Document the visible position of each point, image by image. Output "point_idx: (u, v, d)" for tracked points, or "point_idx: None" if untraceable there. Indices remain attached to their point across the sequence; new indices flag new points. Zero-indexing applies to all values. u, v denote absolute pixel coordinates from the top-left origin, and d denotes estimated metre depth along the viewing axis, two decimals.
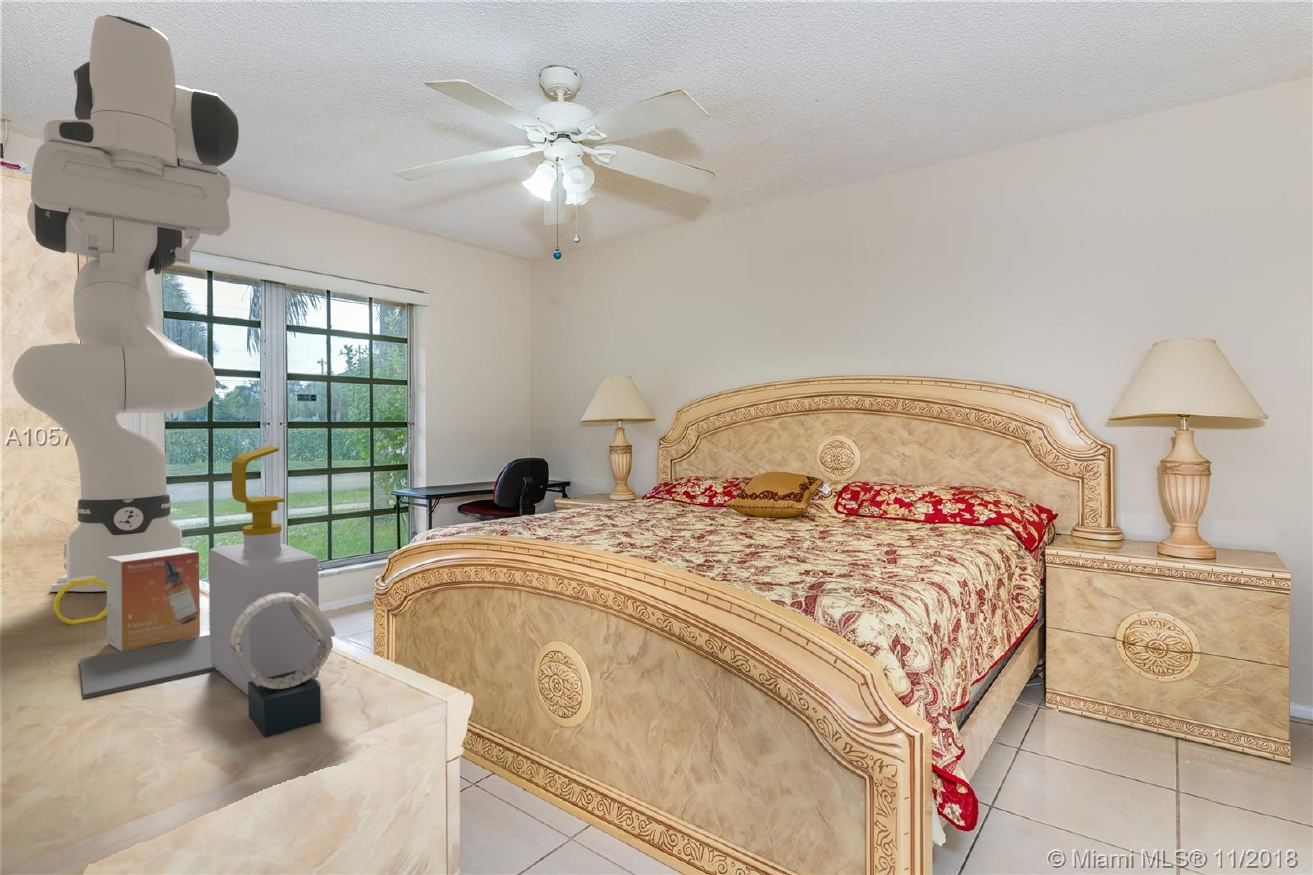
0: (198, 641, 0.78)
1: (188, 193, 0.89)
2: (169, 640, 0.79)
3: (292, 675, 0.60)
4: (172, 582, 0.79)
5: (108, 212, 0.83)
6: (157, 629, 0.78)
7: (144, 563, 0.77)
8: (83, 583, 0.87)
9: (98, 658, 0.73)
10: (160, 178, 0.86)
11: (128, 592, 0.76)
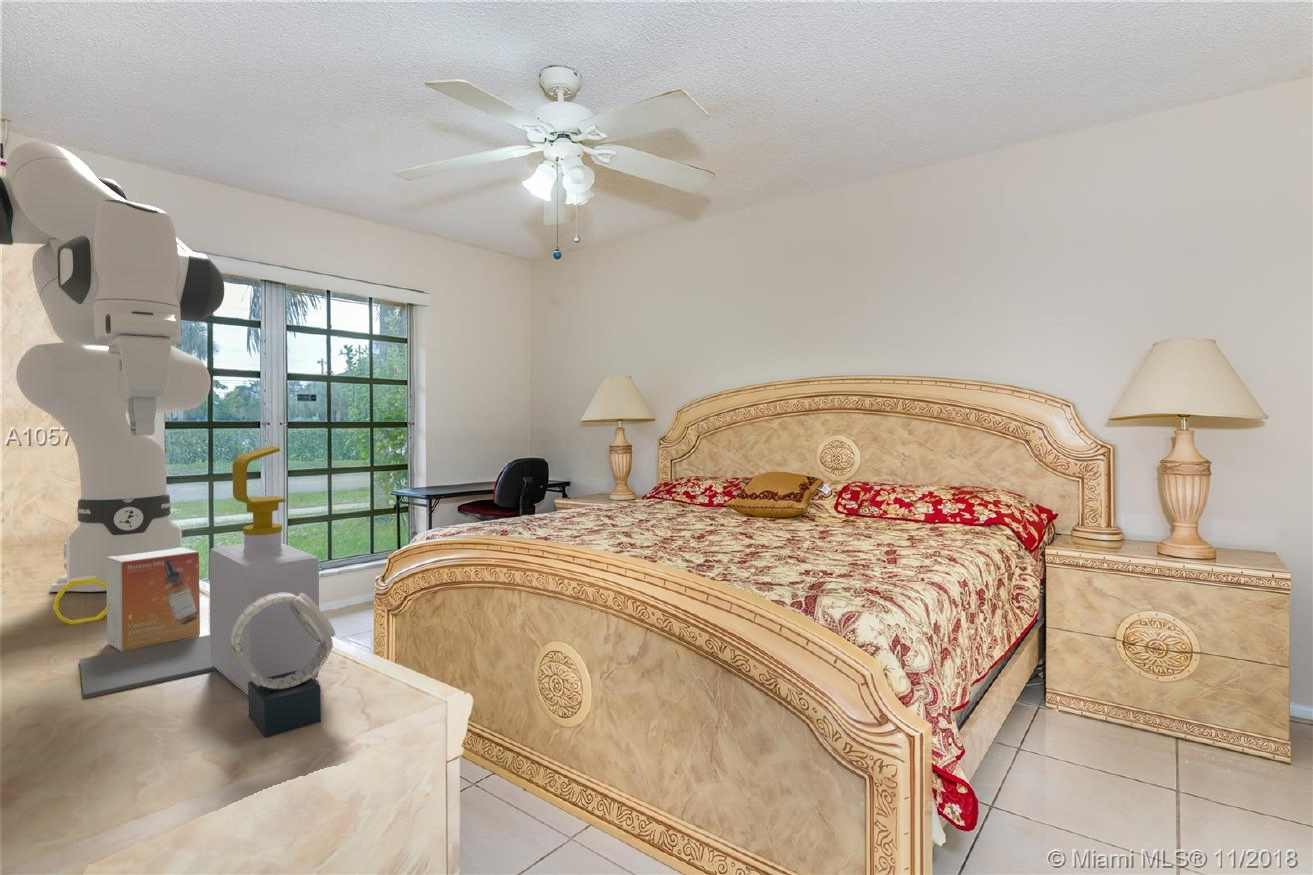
0: (198, 641, 0.78)
1: None
2: (169, 640, 0.79)
3: (292, 675, 0.60)
4: (172, 582, 0.79)
5: None
6: (157, 629, 0.78)
7: (143, 563, 0.77)
8: (83, 583, 0.87)
9: (98, 658, 0.73)
10: None
11: (128, 592, 0.76)
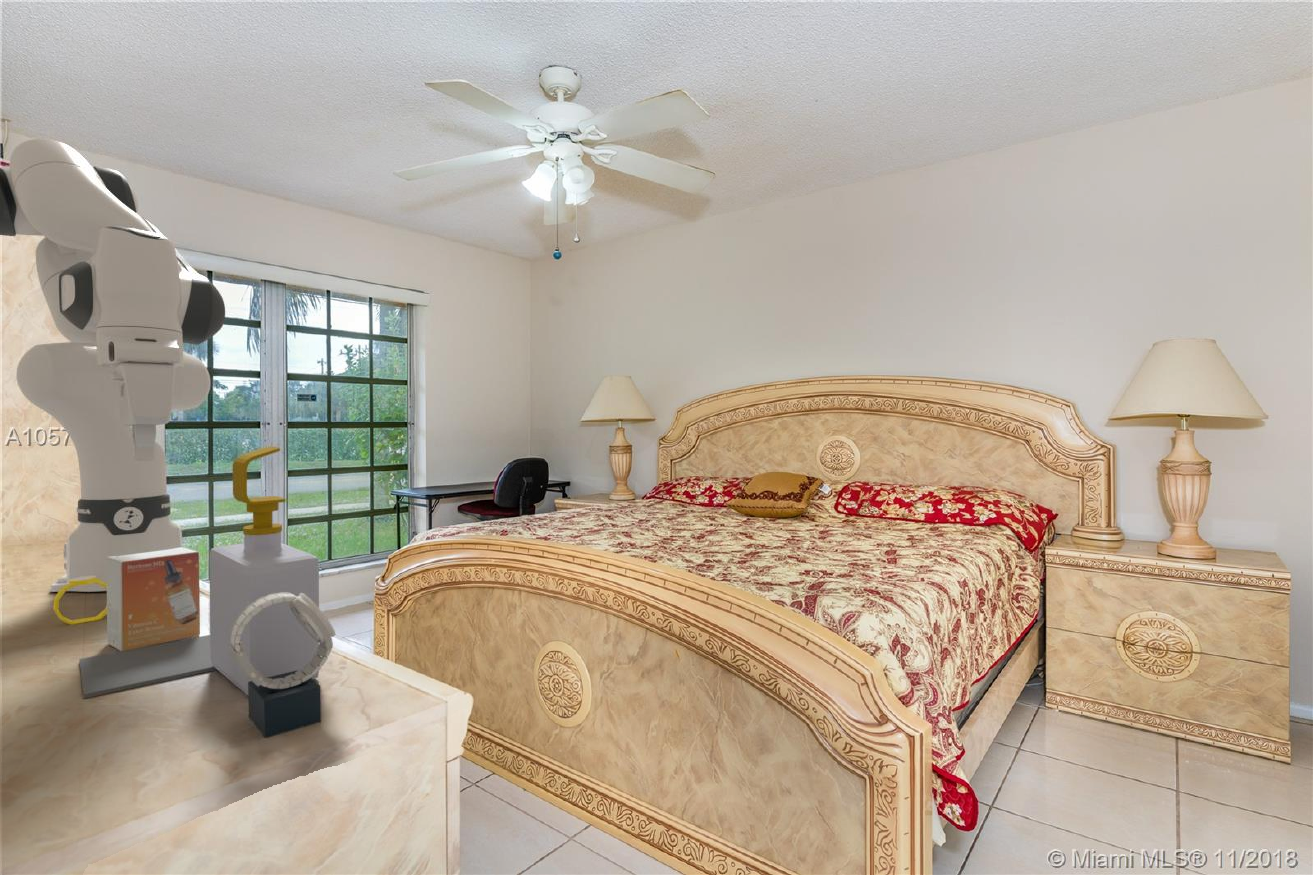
0: (198, 641, 0.78)
1: None
2: (169, 640, 0.79)
3: (292, 675, 0.60)
4: (172, 582, 0.79)
5: None
6: (157, 629, 0.78)
7: (143, 563, 0.77)
8: (83, 583, 0.87)
9: (98, 658, 0.73)
10: None
11: (128, 592, 0.76)
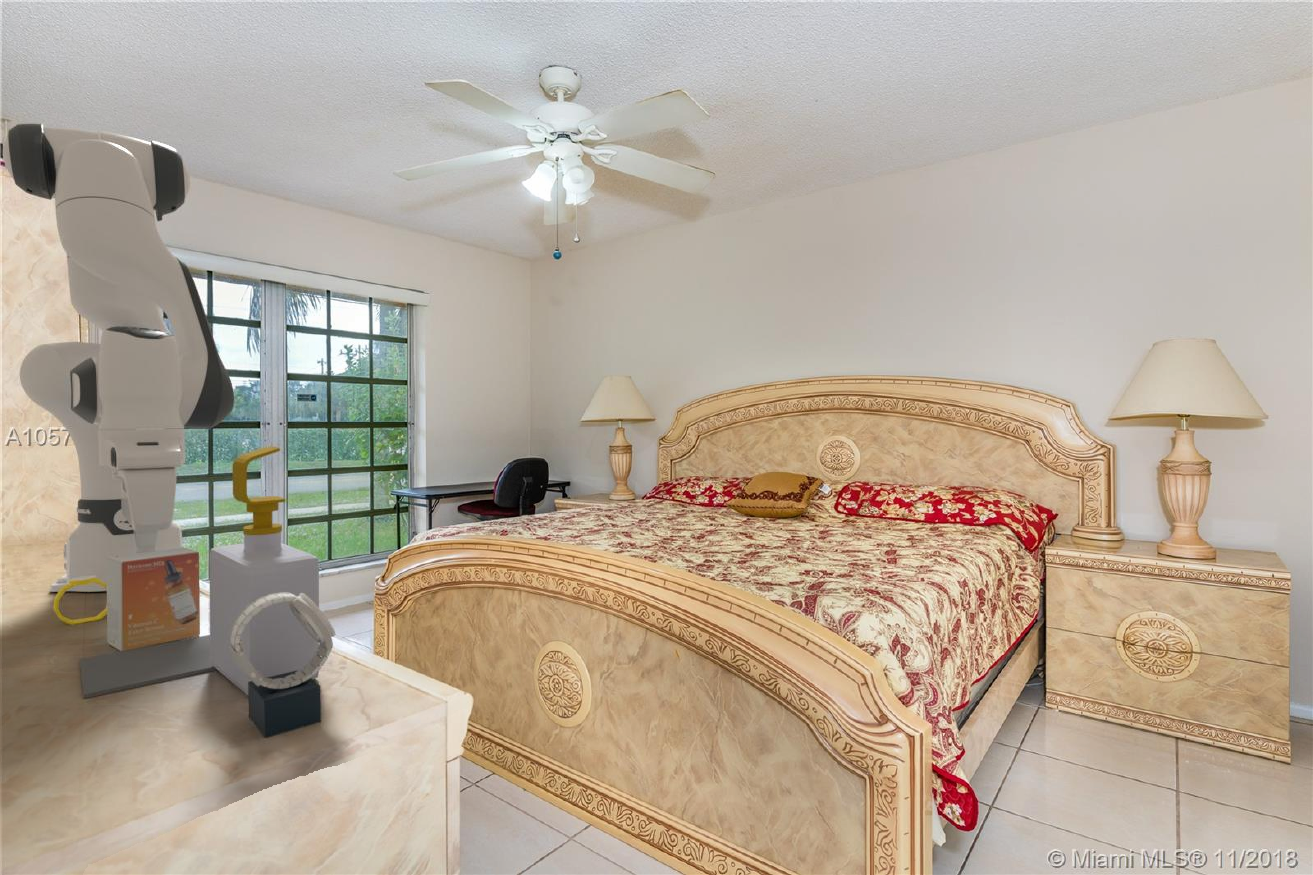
0: (198, 641, 0.78)
1: None
2: (169, 640, 0.79)
3: (292, 675, 0.60)
4: (172, 582, 0.79)
5: None
6: (157, 629, 0.78)
7: (144, 563, 0.77)
8: (83, 583, 0.87)
9: (98, 658, 0.73)
10: None
11: (128, 592, 0.76)
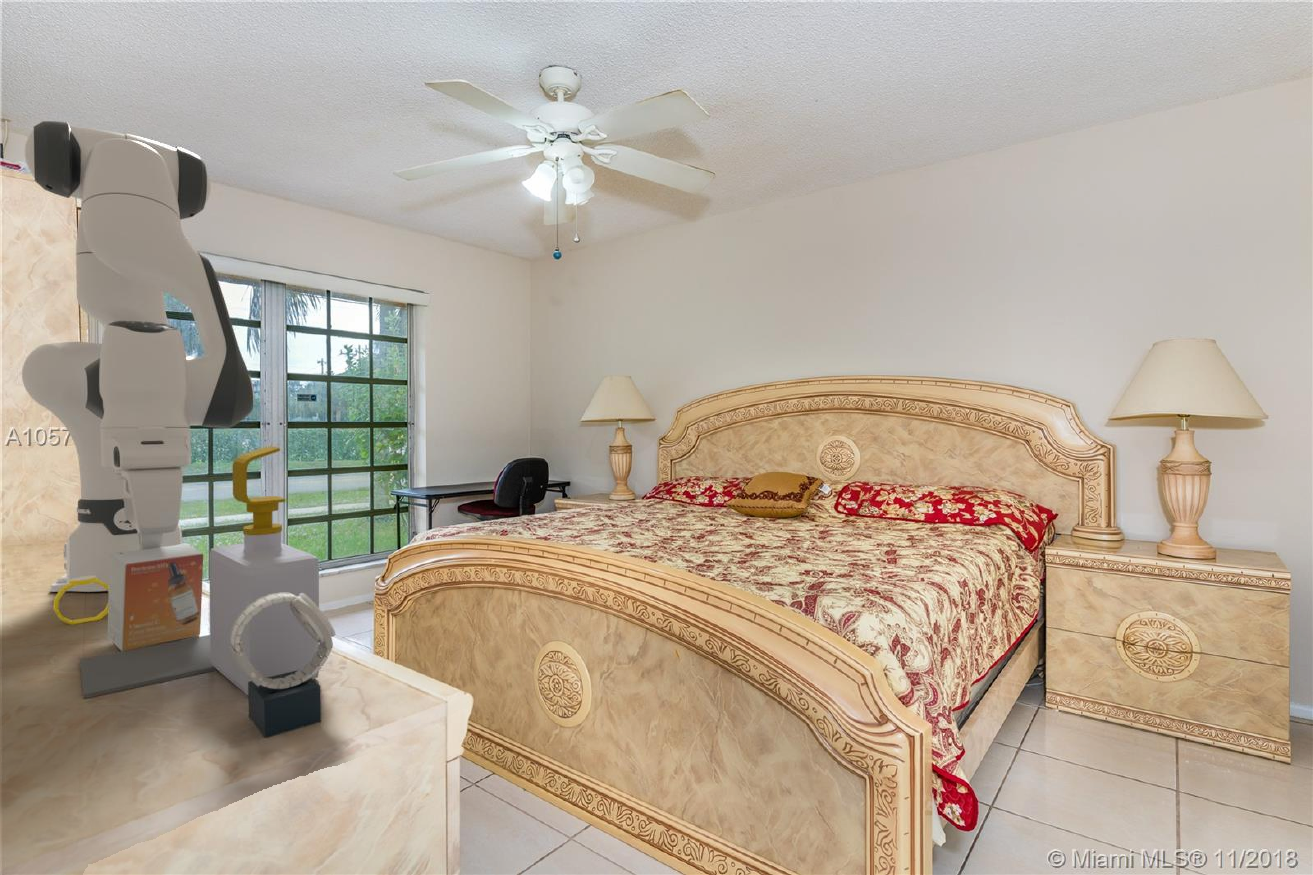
0: (198, 641, 0.78)
1: None
2: (169, 640, 0.79)
3: (292, 675, 0.60)
4: (175, 584, 0.79)
5: None
6: (158, 629, 0.78)
7: (148, 565, 0.76)
8: (83, 583, 0.87)
9: (98, 658, 0.73)
10: None
11: (131, 594, 0.76)
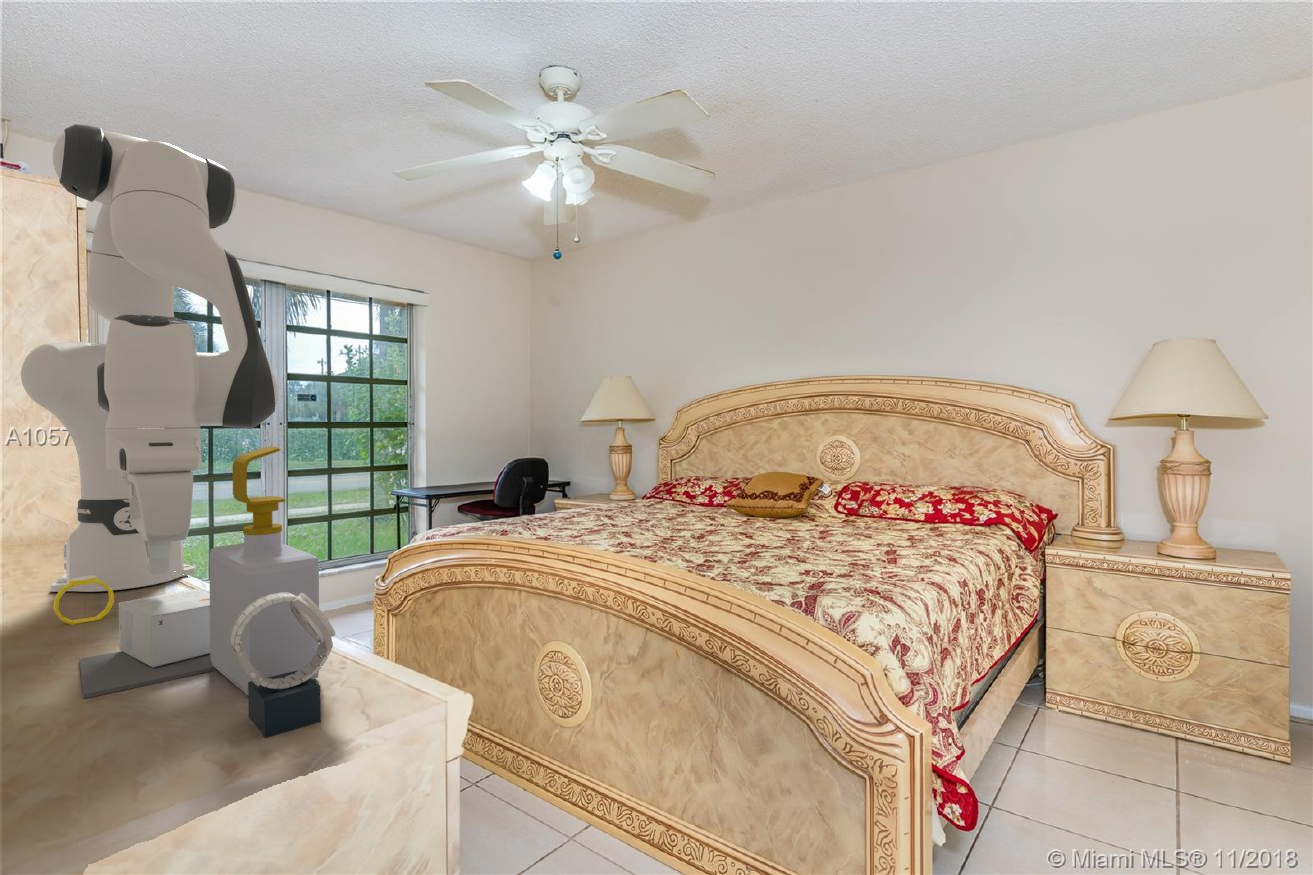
0: None
1: None
2: None
3: (292, 675, 0.60)
4: None
5: None
6: None
7: (174, 661, 0.71)
8: (83, 583, 0.87)
9: (98, 658, 0.73)
10: None
11: None
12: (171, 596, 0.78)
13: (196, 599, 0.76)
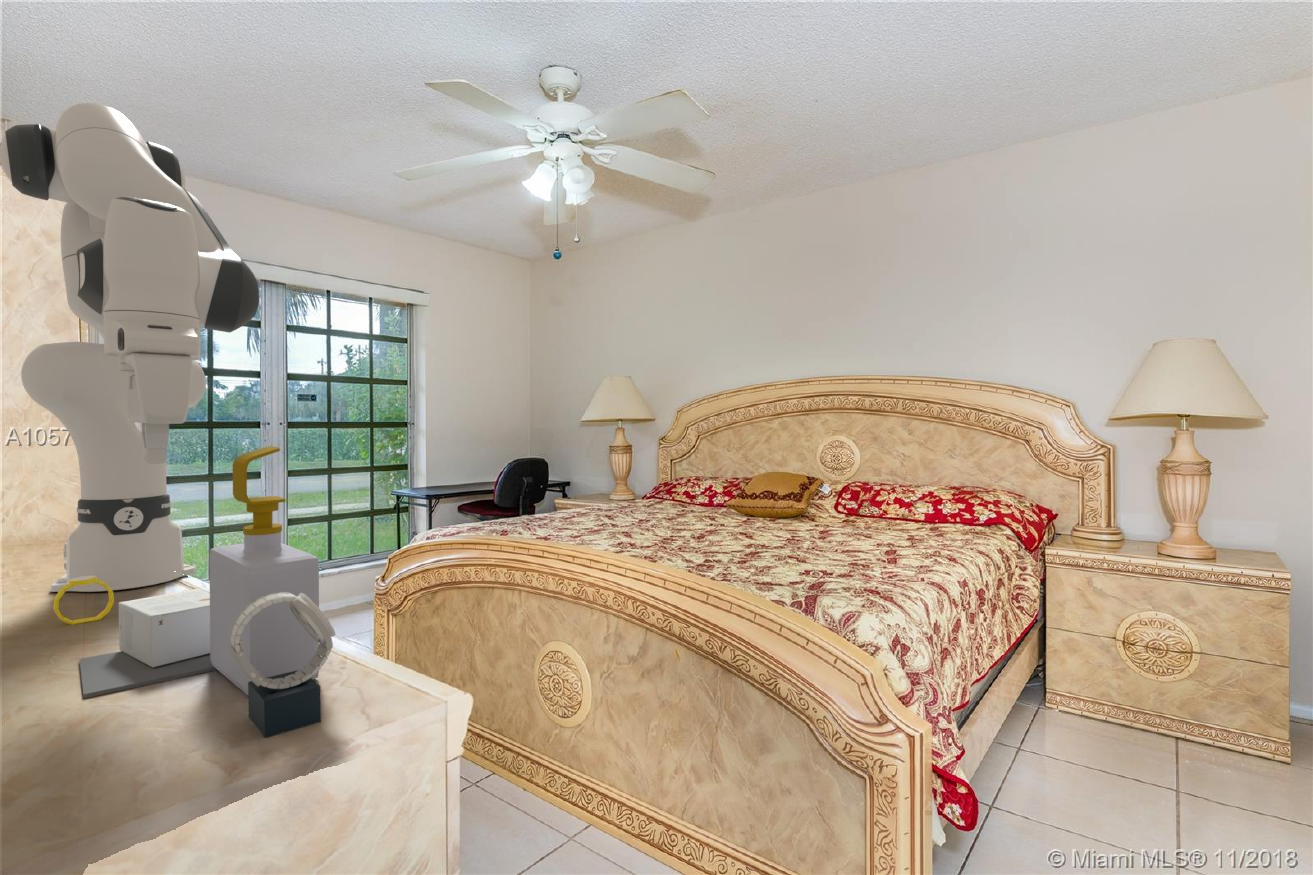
0: None
1: None
2: None
3: (292, 675, 0.60)
4: None
5: None
6: None
7: (174, 661, 0.71)
8: (83, 583, 0.87)
9: (98, 658, 0.73)
10: None
11: None
12: (171, 596, 0.78)
13: (196, 599, 0.76)
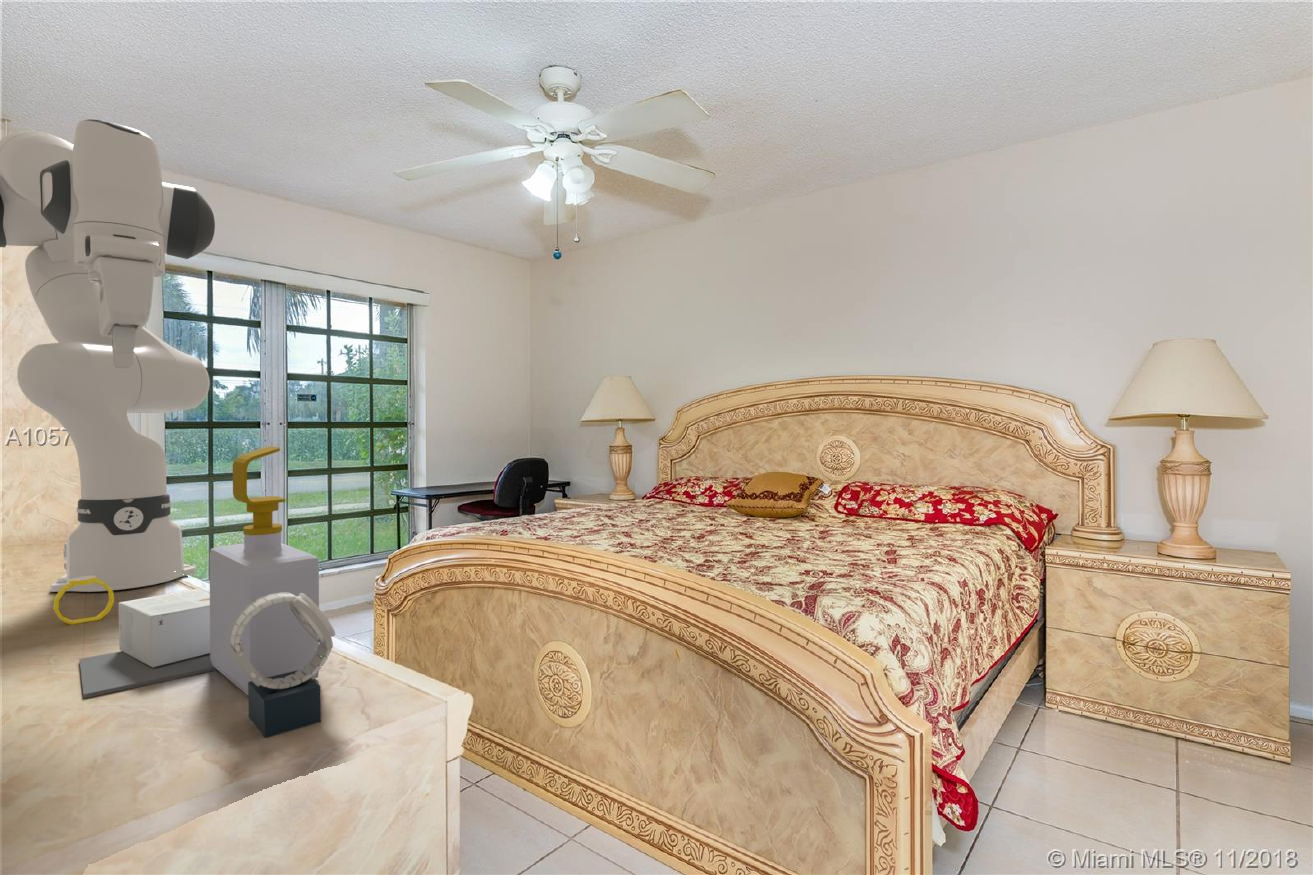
0: None
1: None
2: None
3: (292, 675, 0.60)
4: None
5: (140, 328, 0.81)
6: None
7: (174, 661, 0.71)
8: (83, 583, 0.87)
9: (98, 658, 0.73)
10: None
11: None
12: (171, 596, 0.78)
13: (196, 599, 0.76)
